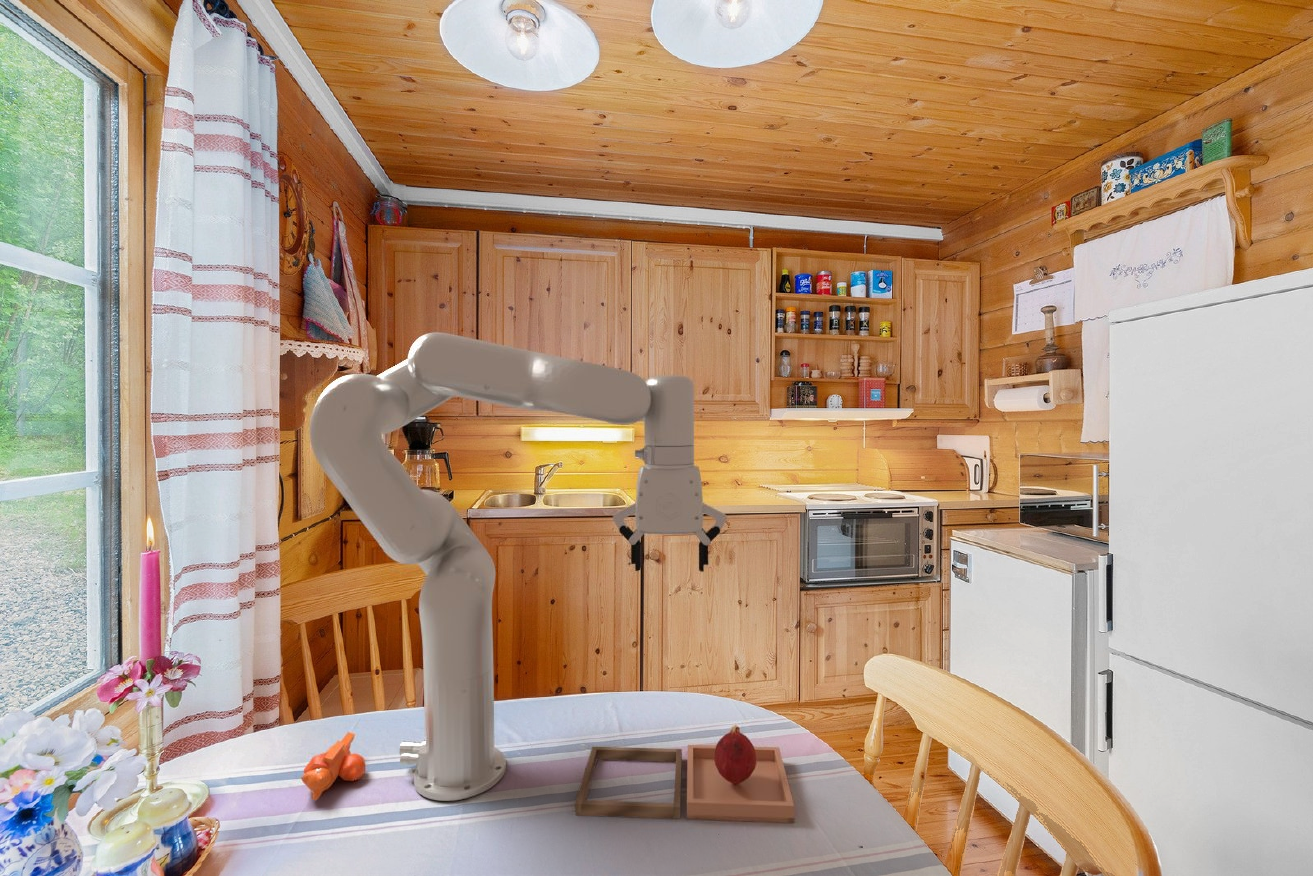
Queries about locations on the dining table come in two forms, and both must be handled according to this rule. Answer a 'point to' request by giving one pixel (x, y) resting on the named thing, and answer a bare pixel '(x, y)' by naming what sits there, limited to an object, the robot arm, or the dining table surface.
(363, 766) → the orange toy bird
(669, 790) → the dining table surface
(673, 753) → the walnut frame
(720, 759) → the onion
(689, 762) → the terracotta tray
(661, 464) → the robot arm
